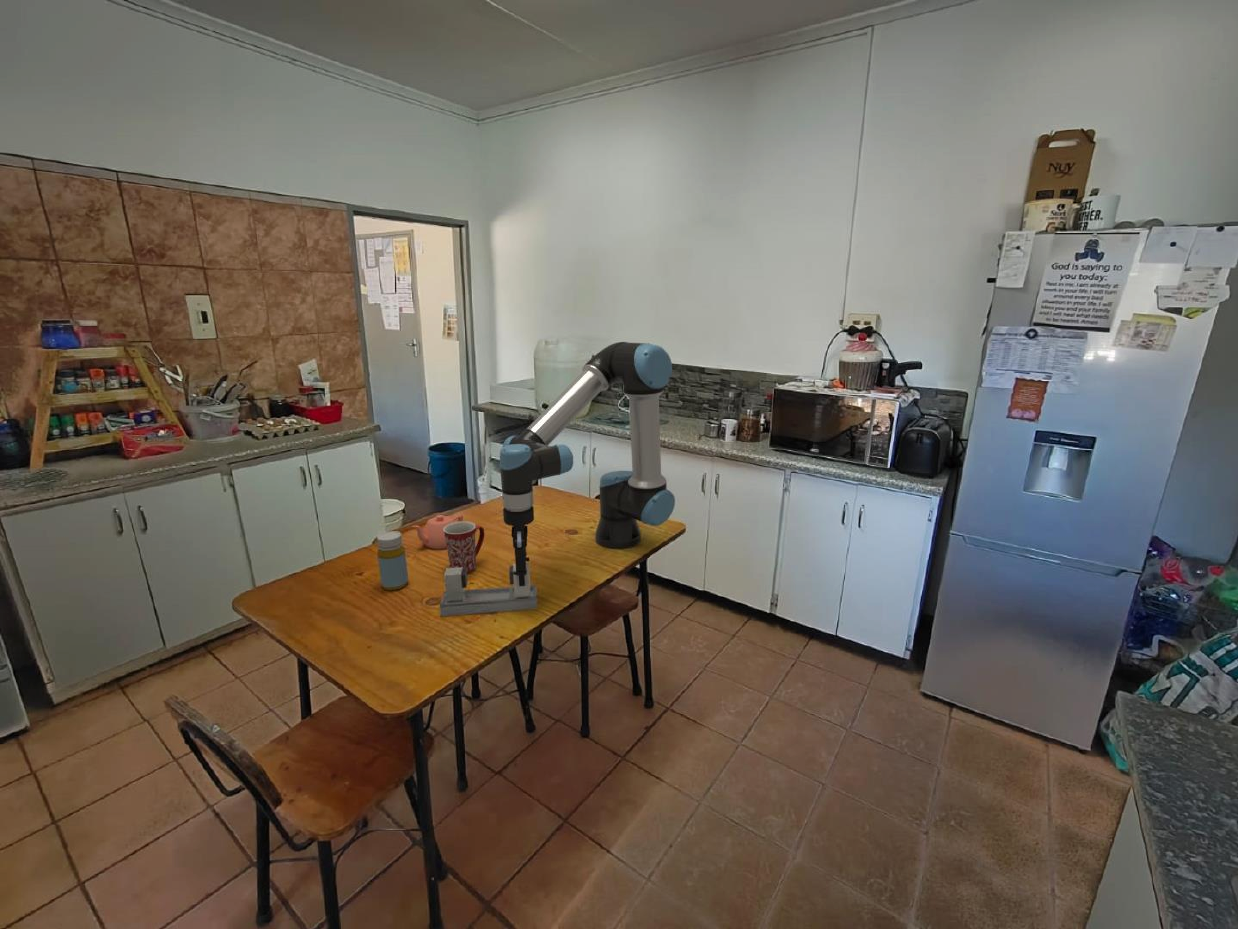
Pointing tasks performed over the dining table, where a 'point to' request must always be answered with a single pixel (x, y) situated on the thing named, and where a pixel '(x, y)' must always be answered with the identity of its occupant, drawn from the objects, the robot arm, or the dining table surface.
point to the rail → (480, 597)
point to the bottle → (392, 561)
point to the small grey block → (513, 581)
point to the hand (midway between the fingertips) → (522, 590)
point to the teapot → (436, 531)
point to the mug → (463, 544)
